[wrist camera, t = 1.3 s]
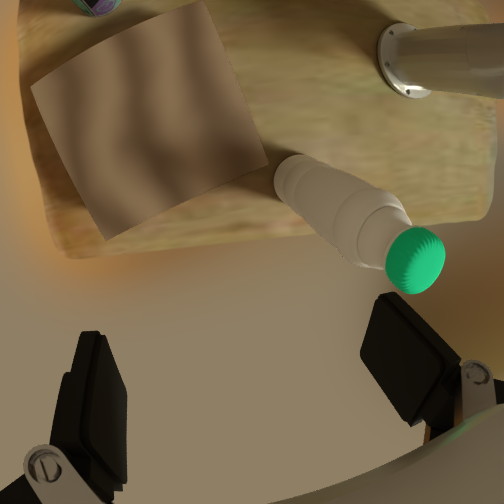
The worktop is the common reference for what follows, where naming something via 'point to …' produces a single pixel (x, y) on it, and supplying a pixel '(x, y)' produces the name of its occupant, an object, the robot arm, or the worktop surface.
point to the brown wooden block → (149, 118)
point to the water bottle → (361, 222)
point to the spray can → (97, 6)
